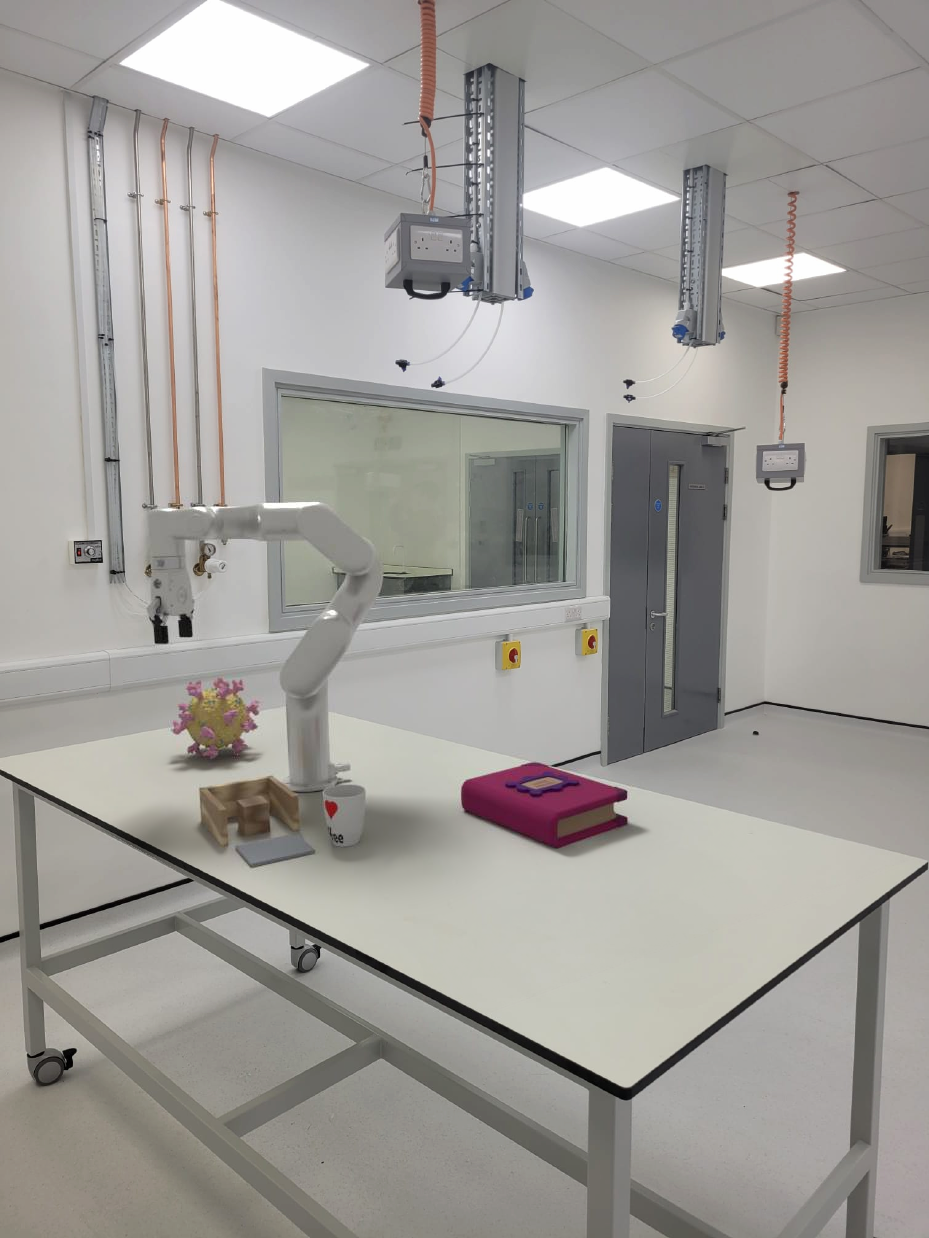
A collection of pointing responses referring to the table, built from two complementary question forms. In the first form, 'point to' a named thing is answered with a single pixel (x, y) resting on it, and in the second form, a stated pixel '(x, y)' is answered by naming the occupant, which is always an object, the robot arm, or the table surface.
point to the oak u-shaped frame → (223, 798)
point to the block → (253, 815)
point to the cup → (344, 813)
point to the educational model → (216, 717)
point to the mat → (274, 849)
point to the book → (545, 803)
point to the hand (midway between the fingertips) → (174, 640)
